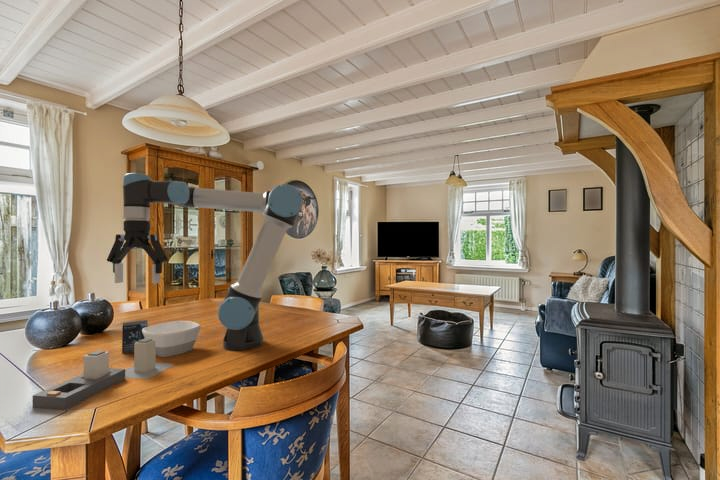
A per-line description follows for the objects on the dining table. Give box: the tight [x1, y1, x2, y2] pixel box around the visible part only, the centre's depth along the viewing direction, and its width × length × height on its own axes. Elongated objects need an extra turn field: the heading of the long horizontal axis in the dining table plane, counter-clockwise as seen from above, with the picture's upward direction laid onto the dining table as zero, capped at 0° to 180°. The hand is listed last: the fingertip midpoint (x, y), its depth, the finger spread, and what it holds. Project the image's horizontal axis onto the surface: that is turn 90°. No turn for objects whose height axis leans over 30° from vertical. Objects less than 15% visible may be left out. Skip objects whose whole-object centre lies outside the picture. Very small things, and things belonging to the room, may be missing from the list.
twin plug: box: [133, 339, 156, 373], centre depth 107 cm, size 4×4×9 cm
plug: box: [83, 350, 110, 379], centre depth 96 cm, size 4×4×9 cm
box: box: [121, 319, 149, 354], centre depth 126 cm, size 8×6×11 cm
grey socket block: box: [32, 367, 126, 411], centre depth 92 cm, size 9×18×4 cm, turn 173°
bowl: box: [142, 320, 201, 358], centre depth 125 cm, size 18×18×9 cm
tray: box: [125, 362, 175, 380], centre depth 107 cm, size 12×12×1 cm
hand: (137, 283), depth 115 cm, fingers open, 13 cm apart
